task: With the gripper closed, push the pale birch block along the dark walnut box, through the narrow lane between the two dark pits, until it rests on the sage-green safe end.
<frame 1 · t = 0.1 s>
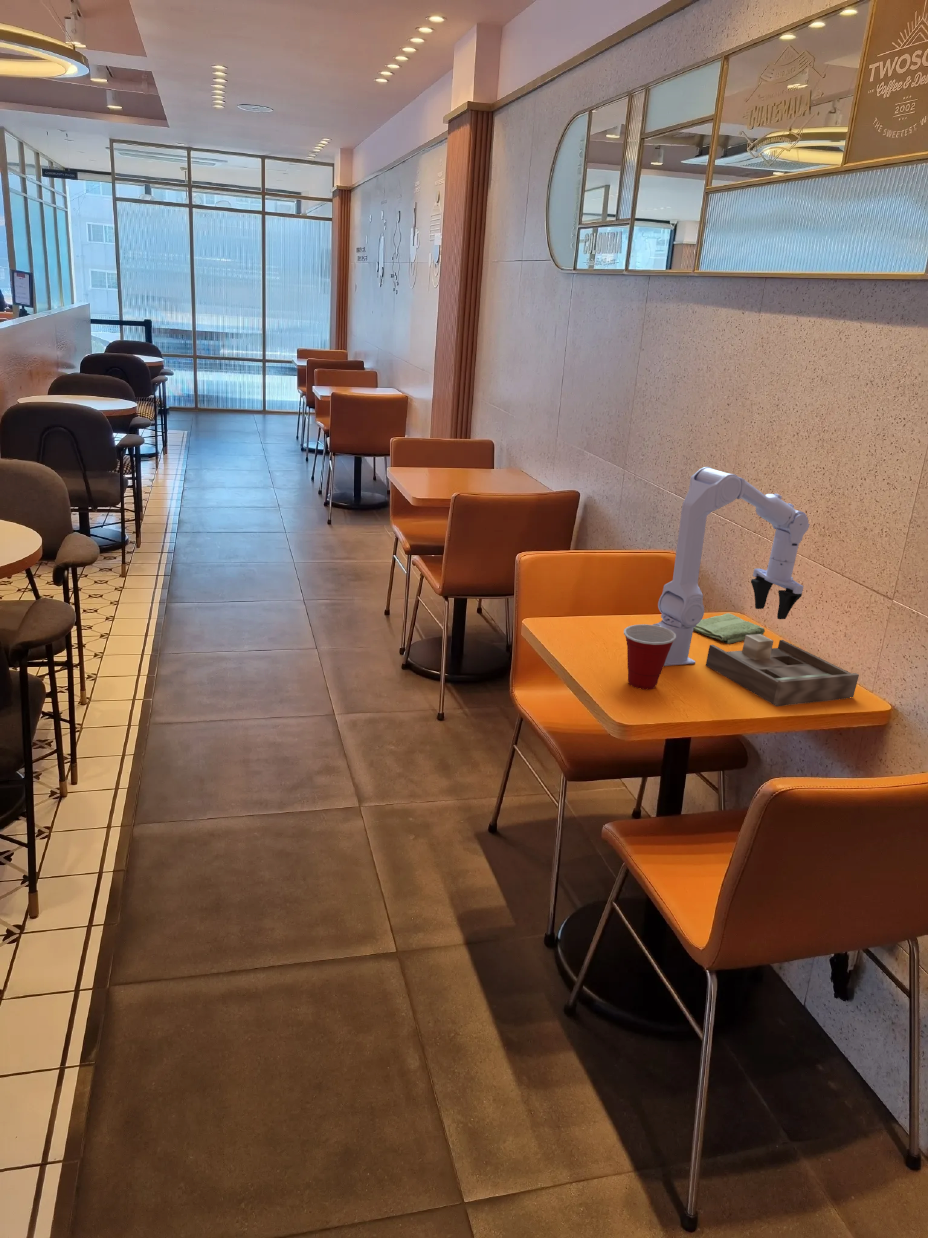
hand: (770, 613, 216), 10 cm above the table, tool pointing down, fingers open, 7 cm apart
washcloth: (725, 634, 232), on the table
trap box: (775, 680, 201), on the table
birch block: (755, 655, 207), point 3 cm above the table, touching trap box
plastic cup: (640, 685, 191), on the table
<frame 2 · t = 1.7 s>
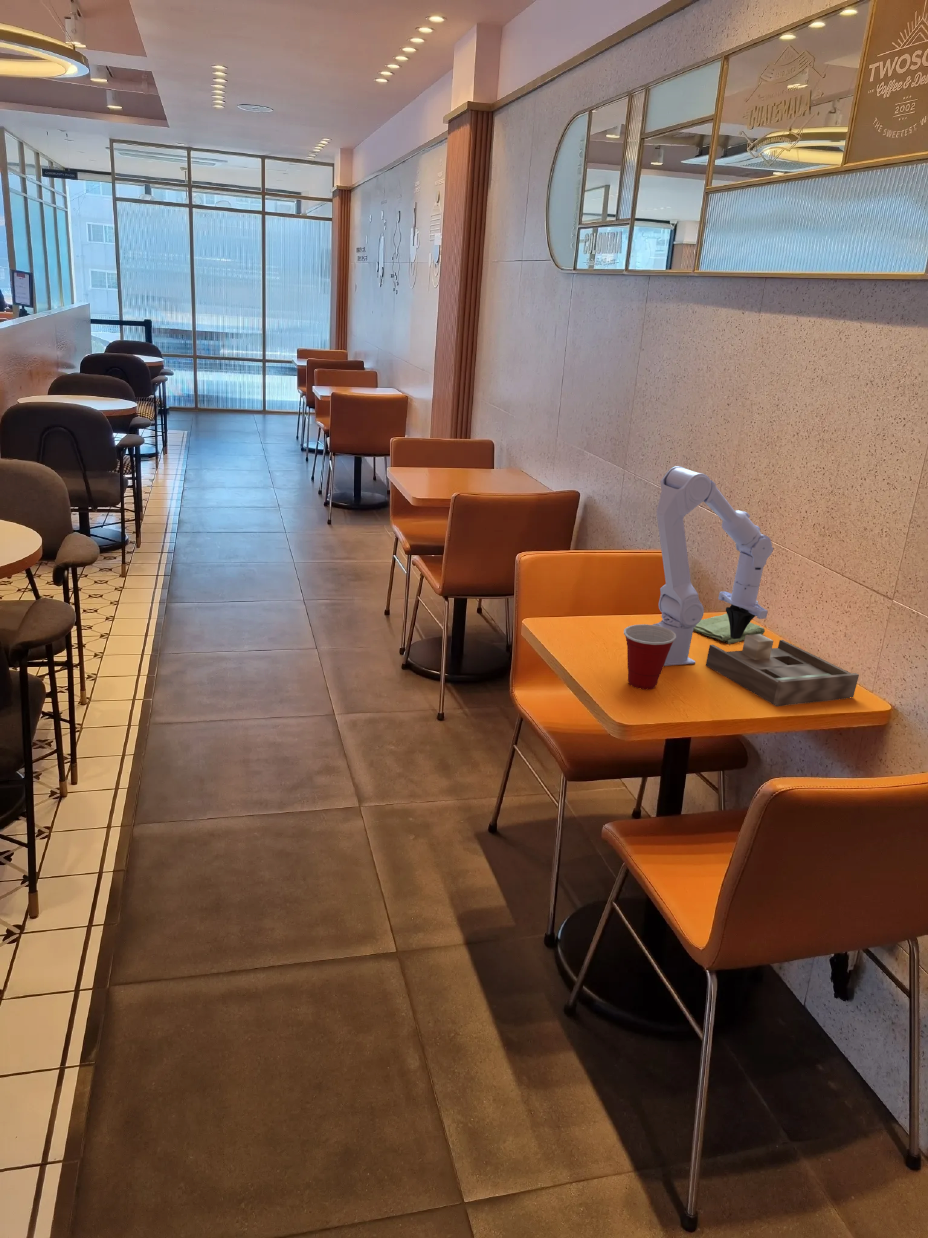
hand: (735, 637, 213), 5 cm above the table, tool pointing down, fingers closed
nothing on the table moved.
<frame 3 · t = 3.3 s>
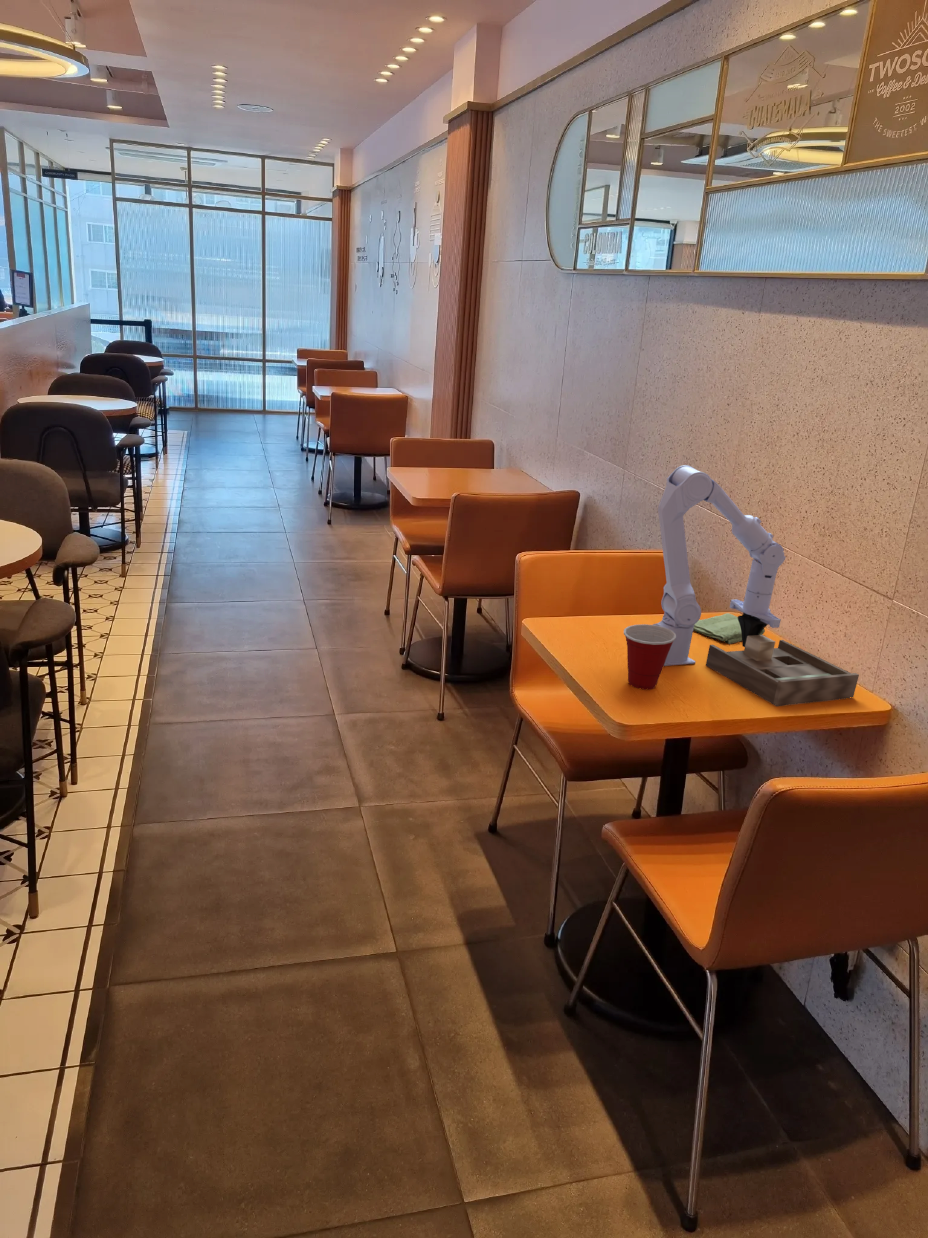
hand: (747, 646, 209), 4 cm above the table, tool pointing down, fingers closed
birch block: (757, 656, 206), point 3 cm above the table, touching gripper, trap box
everything else where it was.
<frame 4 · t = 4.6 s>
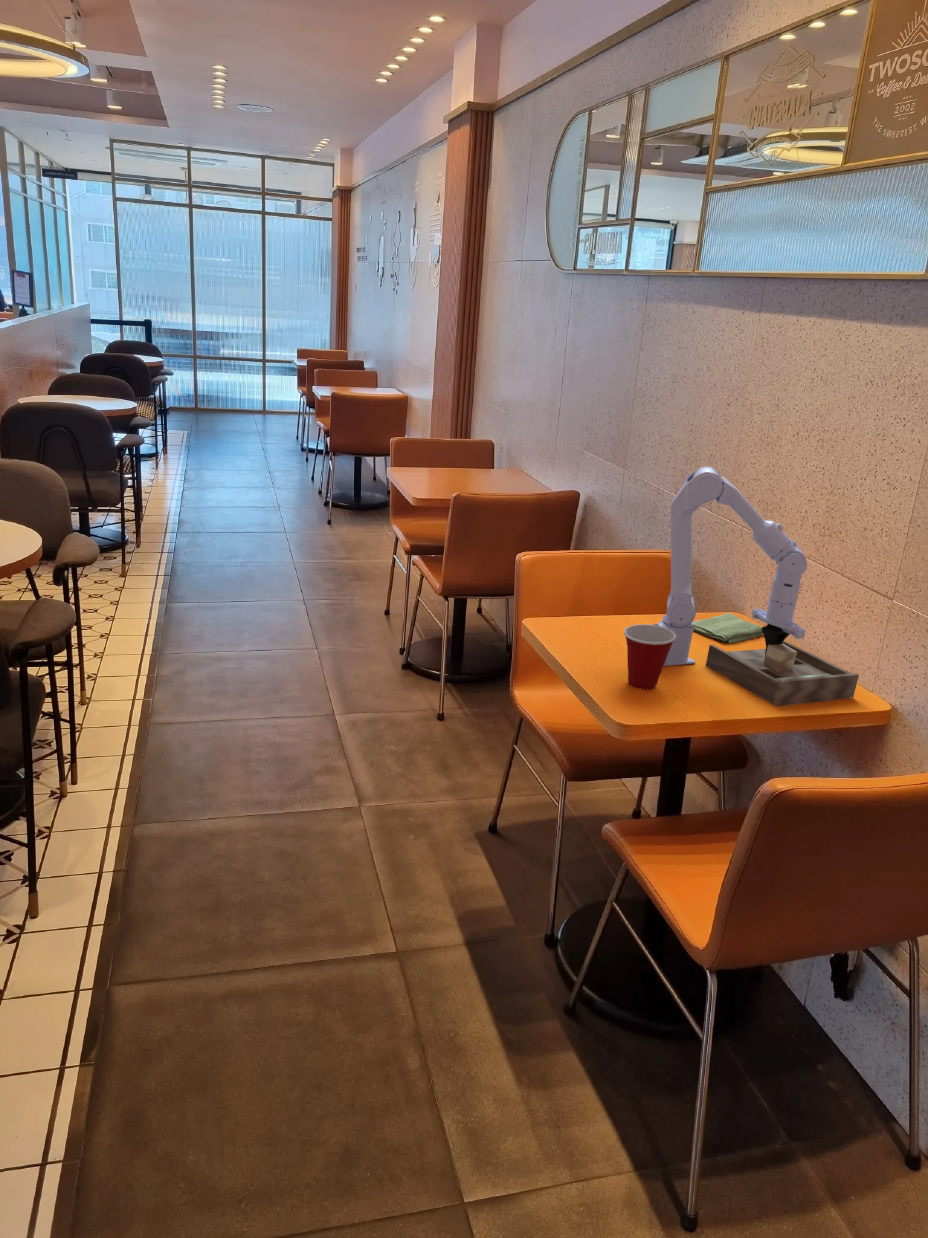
hand: (770, 657, 203), 4 cm above the table, tool pointing down, fingers closed, pressing on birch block
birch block: (777, 666, 201), point 3 cm above the table, touching gripper
everything else where it was.
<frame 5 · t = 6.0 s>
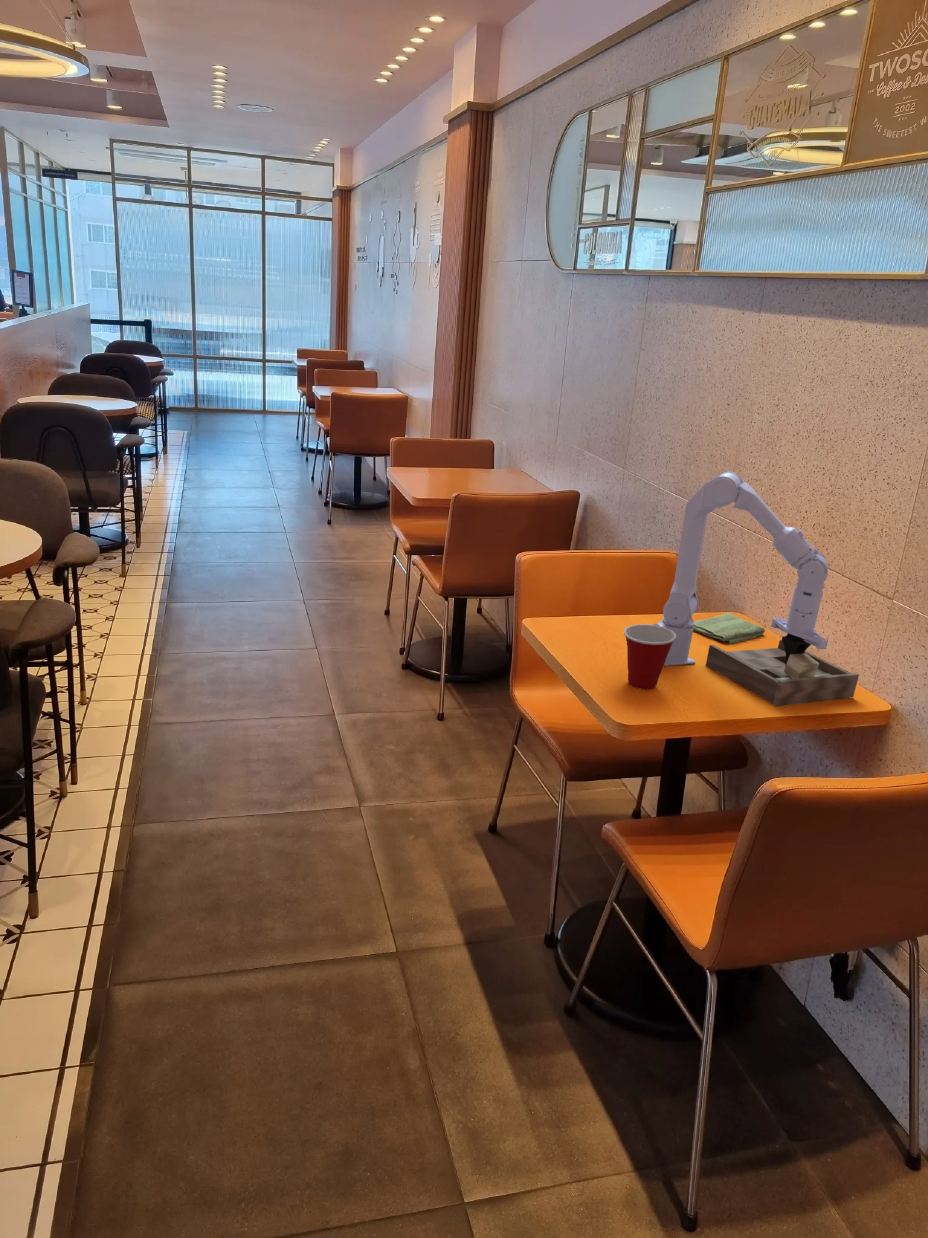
hand: (790, 668, 197), 4 cm above the table, tool pointing down, fingers closed, pressing on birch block
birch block: (798, 676, 196), point 3 cm above the table, tilted 9°, touching gripper, trap box
everything else where it was.
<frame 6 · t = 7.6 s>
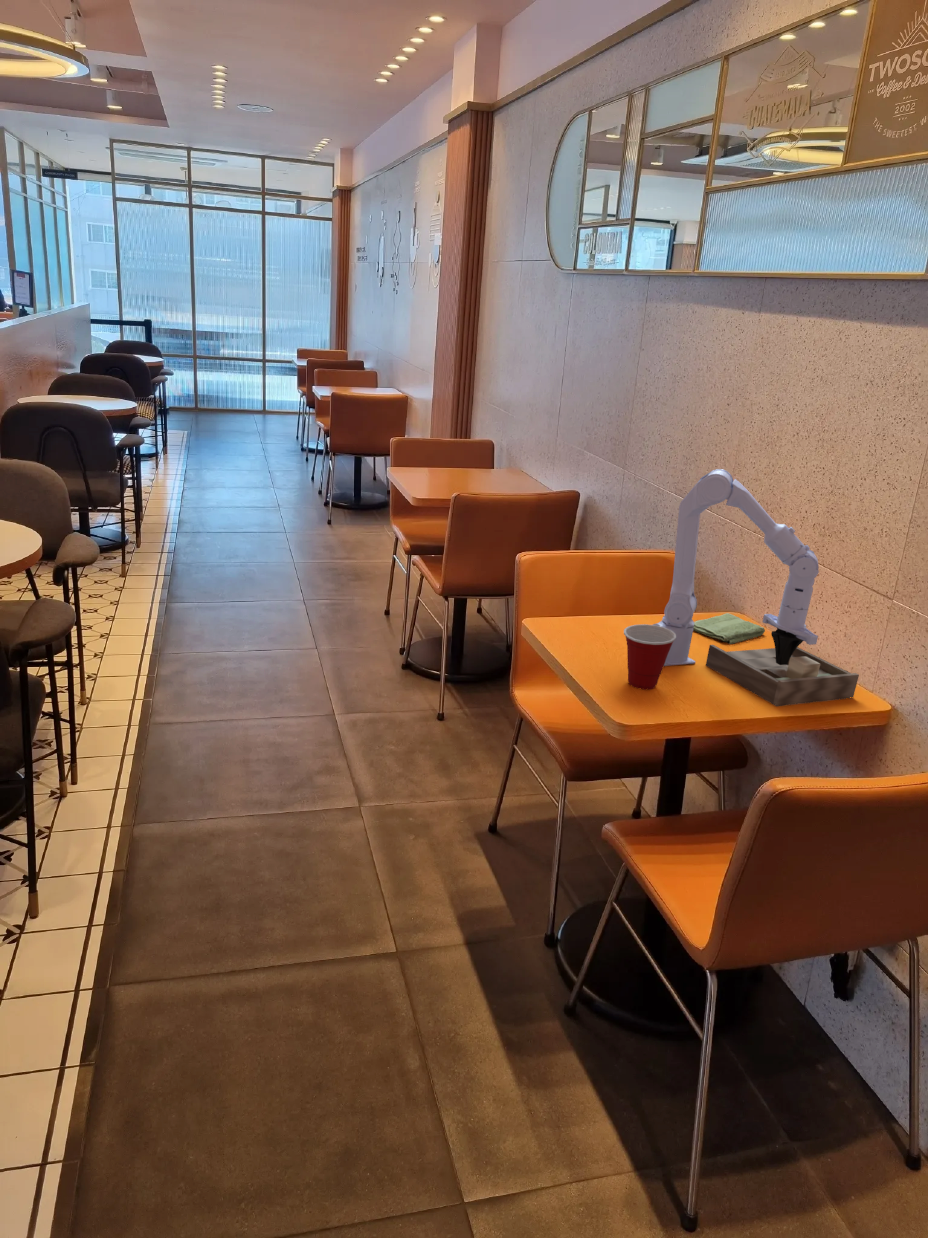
hand: (781, 663, 200), 4 cm above the table, tool pointing down, fingers closed
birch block: (800, 679, 195), point 3 cm above the table, touching trap box
everything else where it was.
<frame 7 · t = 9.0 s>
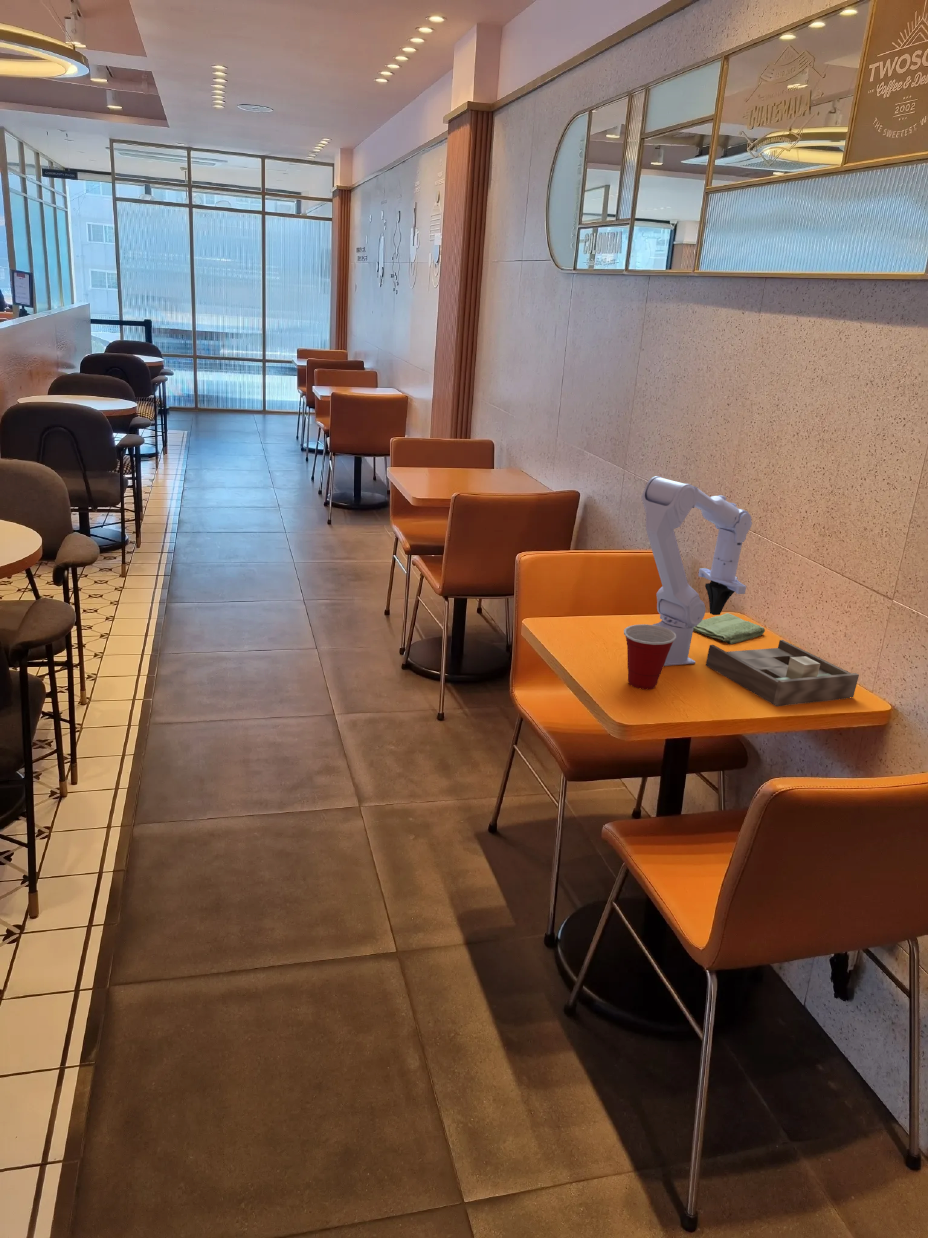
hand: (714, 614, 213), 9 cm above the table, tool pointing down, fingers closed
nothing on the table moved.
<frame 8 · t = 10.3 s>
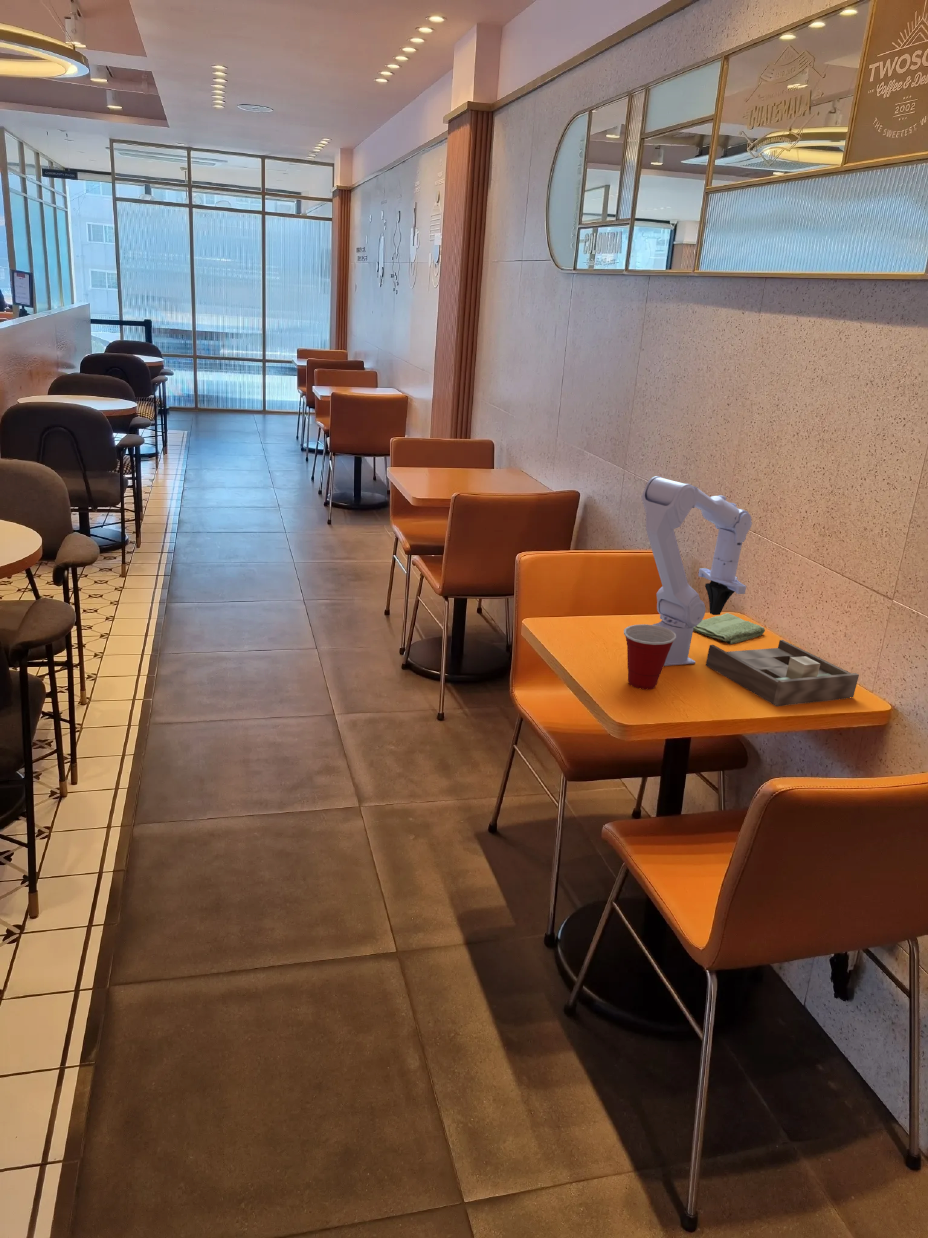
hand: (714, 614, 213), 9 cm above the table, tool pointing down, fingers closed
nothing on the table moved.
at the end: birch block inside the target area (1.1 cm from its centre), point 3.0 cm above the table; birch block tilted 0°; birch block moved 14.1 cm from its start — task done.
